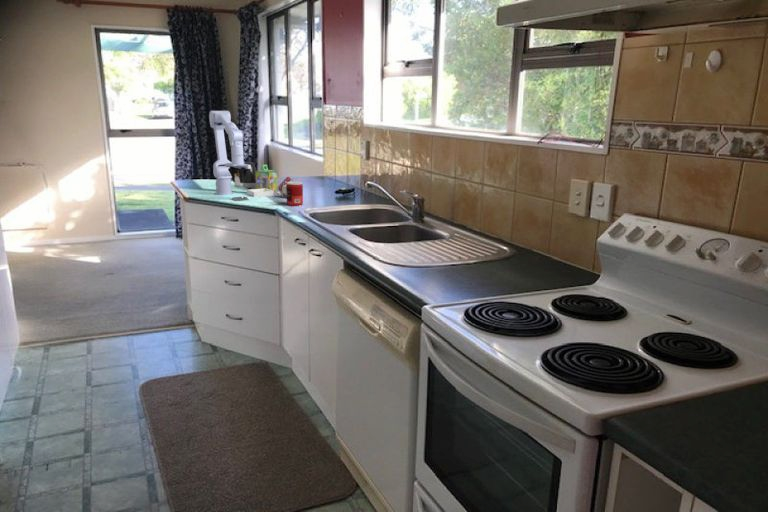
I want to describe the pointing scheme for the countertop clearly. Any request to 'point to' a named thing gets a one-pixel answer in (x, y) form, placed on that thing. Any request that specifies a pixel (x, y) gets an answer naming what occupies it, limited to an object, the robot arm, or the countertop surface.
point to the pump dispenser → (250, 177)
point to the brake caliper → (283, 188)
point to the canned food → (294, 193)
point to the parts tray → (260, 192)
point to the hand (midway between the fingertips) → (238, 182)
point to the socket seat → (239, 199)
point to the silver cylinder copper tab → (237, 180)
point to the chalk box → (266, 179)
